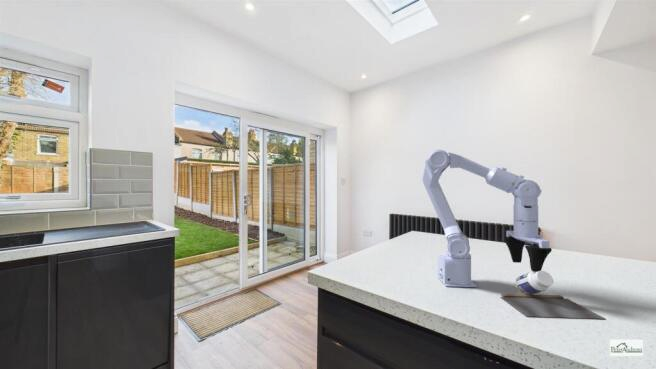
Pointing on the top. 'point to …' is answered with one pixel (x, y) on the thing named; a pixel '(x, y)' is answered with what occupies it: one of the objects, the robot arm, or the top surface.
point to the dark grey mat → (548, 306)
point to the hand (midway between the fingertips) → (525, 266)
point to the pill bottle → (534, 282)
